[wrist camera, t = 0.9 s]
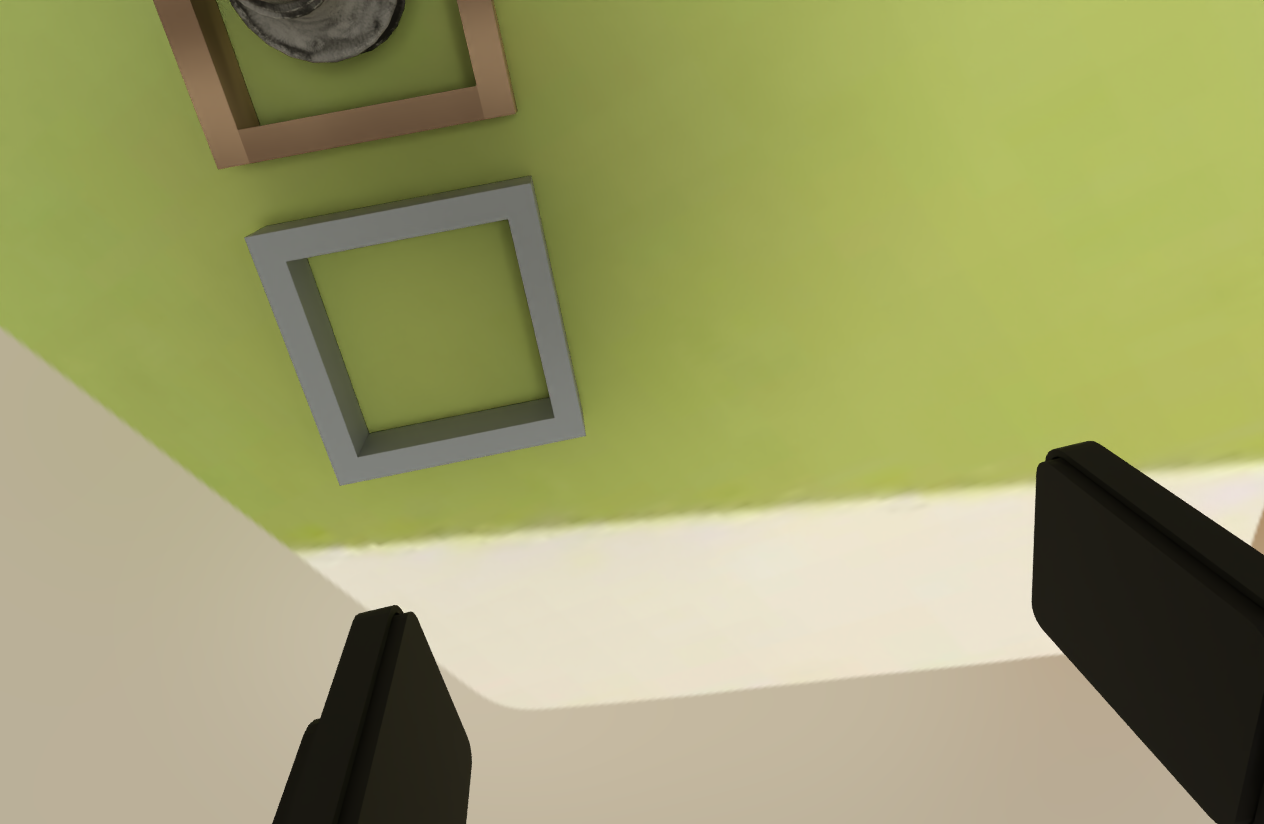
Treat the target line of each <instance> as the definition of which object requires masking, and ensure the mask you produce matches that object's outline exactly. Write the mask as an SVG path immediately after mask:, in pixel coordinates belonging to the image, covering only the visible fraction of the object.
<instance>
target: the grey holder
mask: <svg viewBox="0 0 1264 824" xmlns="http://www.w3.org/2000/svg"><path fill="white" fill-rule="evenodd" d="M506 219H508V221H509V225H510V229H511V234H512V238H513V242H514V246H515V251H516V255H517V259H518V263H519V268H520V272H521V276H522V281H523V285H524V289H525V293H526V298H527V302H528V306H529V310H530V315H531V319H532V323H533V327H534V332H535V336H536V340H537V344H538V349H539V353H540V357H541V361H542V366H543V370H544V374H545V379H546V383H547V387H548V391H549V396H550V397H549V398H544V399H539V400H534V401H529V402H524V403H519V404H514V405H509V406H504V407H499V408H494V409H489V410H484V411H479V412H474V413H469V414H464V415H459V416H454V417H449V418H444V419H439V420H434V421H429V422H424V423H419V424H414V425H409V426H404V427H399V428H394V429H389V430H384V431H379V432H374V433H369V432H368V429H367V426H366V424H365V421H364V418H363V415H362V412H361V409H360V407H359V404H358V401H357V398H356V395H355V393H354V390H353V387H352V384H351V381H350V378H349V376H348V373H347V370H346V367H345V364H344V361H343V359H342V356H341V353H340V350H339V347H338V345H337V342H336V339H335V336H334V333H333V330H332V328H331V325H330V322H329V319H328V316H327V313H326V311H325V308H324V305H323V302H322V299H321V296H320V294H319V291H318V288H317V285H316V282H315V280H314V277H313V274H312V271H311V268H310V265H309V263H308V260H307V258H308V257H313V256H318V255H323V254H329V253H334V252H339V251H344V250H349V249H355V248H360V247H365V246H370V245H376V244H381V243H386V242H391V241H396V240H402V239H407V238H412V237H417V236H422V235H428V234H433V233H438V232H443V231H448V230H454V229H459V228H464V227H469V226H475V225H480V224H485V223H490V222H495V221H501V220H506ZM245 241H246V243H247V246H248V248H249V251H250V254H251V256H252V259H253V261H254V264H255V267H256V269H257V272H258V274H259V277H260V280H261V282H262V285H263V287H264V290H265V293H266V295H267V298H268V300H269V303H270V306H271V308H272V311H273V313H274V316H275V318H276V321H277V324H278V326H279V329H280V331H281V334H282V337H283V339H284V342H285V344H286V347H287V350H288V352H289V355H290V357H291V360H292V363H293V365H294V368H295V370H296V373H297V376H298V378H299V381H300V383H301V386H302V389H303V391H304V394H305V396H306V399H307V402H308V404H309V407H310V409H311V412H312V415H313V417H314V420H315V422H316V425H317V428H318V430H319V433H320V435H321V438H322V441H323V443H324V446H325V448H326V451H327V454H328V456H329V459H330V461H331V464H332V467H333V469H334V472H335V474H336V477H337V480H338V482H339V485H340V486H341V485H346V484H350V483H355V482H360V481H365V480H370V479H375V478H380V477H385V476H390V475H395V474H400V473H405V472H410V471H415V470H420V469H425V468H430V467H435V466H439V465H444V464H449V463H454V462H459V461H464V460H469V459H474V458H479V457H484V456H489V455H494V454H499V453H504V452H509V451H514V450H519V449H524V448H529V447H533V446H538V445H543V444H548V443H553V442H558V441H563V440H568V439H573V438H578V437H583V436H586V433H585V426H584V418H583V412H582V407H581V403H580V398H579V393H578V389H577V384H576V379H575V375H574V370H573V366H572V361H571V356H570V352H569V347H568V342H567V338H566V333H565V329H564V324H563V319H562V315H561V310H560V306H559V301H558V296H557V292H556V287H555V282H554V278H553V273H552V269H551V264H550V259H549V255H548V250H547V246H546V241H545V236H544V232H543V227H542V222H541V218H540V213H539V209H538V204H537V199H536V195H535V190H534V185H533V181H532V176H526V177H521V178H516V179H511V180H505V181H500V182H495V183H490V184H484V185H479V186H474V187H469V188H463V189H458V190H453V191H448V192H442V193H437V194H432V195H427V196H421V197H416V198H411V199H406V200H400V201H395V202H390V203H384V204H379V205H374V206H369V207H363V208H358V209H353V210H348V211H342V212H337V213H332V214H327V215H321V216H316V217H311V218H306V219H300V220H295V221H290V222H285V223H279V224H274V225H269V226H265V227H263V228H261V229H259V230H257V231H256V232H254V233H252V234H250V235H248V236H246V237H245Z"/></svg>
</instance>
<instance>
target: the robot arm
mask: <svg viewBox="0 0 1264 824" xmlns="http://www.w3.org/2000/svg"><path fill="white" fill-rule="evenodd" d="M1032 609H1033V613H1034V615H1035V618H1036V620H1037V622H1038V624H1039V625H1040V627H1041V628H1042V629H1043V631H1044V632H1045V633H1046V634H1047V635H1048V636H1049V637H1050V638H1051V639H1052V641H1053V642H1054V643H1055V644H1056V645H1057V646H1058V647H1059V648H1060V650H1061V651H1062V652H1063V653H1064V654H1065V655H1066V656H1067V657H1068V658H1069V660H1070V661H1071V662H1072V663H1073V664H1074V665H1075V666H1076V667H1077V669H1078V670H1079V671H1080V672H1081V673H1082V674H1083V675H1084V676H1085V678H1086V679H1087V680H1088V681H1089V682H1090V683H1091V684H1092V685H1093V687H1094V688H1095V689H1096V690H1097V691H1098V692H1099V693H1100V694H1101V695H1102V697H1103V698H1104V699H1105V700H1106V701H1107V702H1108V703H1109V705H1110V706H1111V707H1112V708H1113V709H1114V710H1115V711H1116V712H1117V714H1118V715H1119V716H1120V717H1121V718H1122V719H1123V720H1124V721H1125V722H1126V723H1127V725H1128V726H1129V727H1130V728H1131V729H1132V730H1133V731H1134V733H1135V734H1136V735H1137V736H1138V737H1139V738H1140V739H1141V740H1142V742H1143V743H1144V744H1145V745H1146V746H1147V747H1148V748H1149V749H1150V751H1152V753H1153V754H1154V755H1155V756H1156V757H1157V758H1158V759H1159V760H1160V762H1161V763H1162V764H1163V765H1164V766H1165V767H1166V768H1167V770H1168V771H1169V772H1170V773H1171V774H1172V775H1173V776H1174V777H1175V779H1176V780H1177V781H1178V782H1179V783H1180V784H1181V785H1182V786H1183V788H1184V789H1185V790H1186V791H1187V792H1188V793H1189V794H1190V795H1191V796H1192V798H1193V799H1194V800H1195V801H1196V802H1197V803H1198V804H1199V806H1200V807H1201V808H1202V809H1203V810H1204V811H1205V812H1206V813H1207V814H1208V816H1209V817H1210V818H1211V819H1213V820H1214V821H1215V822H1216V823H1217V824H1264V555H1263V554H1261V553H1260V552H1258V551H1257V550H1256V549H1254V548H1253V547H1251V546H1250V545H1248V544H1247V543H1245V542H1244V541H1242V540H1241V539H1239V538H1238V537H1236V536H1235V535H1233V534H1232V533H1230V532H1229V531H1227V530H1226V529H1225V528H1223V527H1222V526H1220V525H1219V524H1217V523H1216V522H1214V521H1213V520H1211V519H1210V518H1208V517H1207V516H1205V515H1204V514H1202V513H1201V512H1199V511H1198V510H1196V509H1195V508H1193V507H1192V506H1191V505H1189V504H1188V503H1186V502H1185V501H1183V500H1182V499H1180V498H1179V497H1177V496H1176V495H1174V494H1173V493H1171V492H1170V491H1168V490H1167V489H1165V488H1164V487H1162V486H1161V485H1159V484H1158V483H1157V482H1155V481H1154V480H1152V479H1151V478H1149V477H1148V476H1146V475H1145V474H1143V473H1142V472H1140V471H1139V470H1137V469H1136V468H1134V467H1133V466H1131V465H1130V464H1128V463H1127V462H1125V461H1124V460H1123V459H1121V458H1120V457H1118V456H1117V455H1115V454H1114V453H1112V452H1111V451H1109V450H1108V449H1106V448H1105V447H1103V446H1102V445H1100V444H1098V443H1096V442H1094V441H1086V442H1082V443H1078V444H1073V445H1069V446H1065V447H1061V448H1057V449H1053V450H1051V451H1049V452H1048V454H1047V456H1046V460H1045V462H1042V463H1040V464H1039V465H1038V467H1037V472H1036V499H1035V526H1034V553H1033V580H1032ZM471 767H472V756H471V748H470V743H469V740H468V737H467V735H466V732H465V730H464V728H463V726H462V723H461V721H460V718H459V716H458V713H457V711H456V709H455V706H454V704H453V702H452V699H451V697H450V695H449V692H448V690H447V687H446V685H445V683H444V680H443V678H442V675H441V673H440V671H439V668H438V666H437V664H436V661H435V659H434V656H433V654H432V652H431V649H430V647H429V645H428V642H427V640H426V637H425V635H424V633H423V630H422V628H421V626H420V623H419V621H418V619H417V617H416V615H415V614H414V613H413V612H407V613H403V611H402V610H401V608H400V607H399V606H397V605H393V606H389V607H384V608H380V609H376V610H372V611H368V612H364V613H359V614H358V615H356V616H355V618H354V620H353V622H352V626H351V629H350V631H349V635H348V637H347V640H346V643H345V646H344V650H343V652H342V655H341V658H340V661H339V664H338V667H337V670H336V673H335V676H334V679H333V682H332V685H331V688H330V691H329V694H328V697H327V700H326V703H325V706H324V709H323V712H322V715H321V718H320V719H316V720H314V721H313V722H311V723H310V724H309V725H308V727H307V729H306V731H305V733H304V735H303V738H302V741H301V744H300V746H299V749H298V752H297V755H296V758H295V761H294V764H293V766H292V769H291V772H290V775H289V778H288V781H287V783H286V786H285V789H284V792H283V795H282V798H281V801H280V803H279V806H278V809H277V812H276V815H275V817H274V820H273V823H272V824H466V819H467V809H468V799H469V787H470V778H471Z"/></svg>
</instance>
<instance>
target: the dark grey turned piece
mask: <svg viewBox="0 0 1264 824" xmlns="http://www.w3.org/2000/svg"><path fill="white" fill-rule="evenodd" d="M230 2H231V4H232V6H233V8H234V9H235V10H236V12H237V13H238V14H239V16H240V17H241V18H242V20H243V21H244V22H245V24H246V25H247V26H248V28H250V29H251V30H252V31H253V32H254V33H255V34H256V35H258V36H259V37H260V38H261V39H262V40H263V41H264V42H266V43H267V44H268V45H270V46H271V47H273V48H275V49H277V50H279V51H281V52H282V53H284V54H286V55H288V56H290V57H293V58H297V59H301V60H305V61H309V62H313V63H321V62H339V61H342V60H345V59H348V58H351V57H355V56H357V55H359V54H362V53H365V52H368V51H371V50H373V49H375V48H376V47H378V46H379V45H380V44H382V43H383V42H385V41H386V40H387V39H388V38H389V36H390V35H391V34H392V32H393V31H394V30H395V29H396V27H397V26H398V23H399V21H400V18H401V16H402V13H403V11H404V7H405V0H230Z"/></svg>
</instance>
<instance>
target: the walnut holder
mask: <svg viewBox="0 0 1264 824" xmlns="http://www.w3.org/2000/svg"><path fill="white" fill-rule="evenodd" d="M153 2H154V4H155V7H156V9H157V12H158V15H159V17H160V20H161V22H162V25H163V28H164V30H165V33H166V35H167V38H168V41H169V43H170V46H171V48H172V51H173V54H174V56H175V59H176V61H177V64H178V67H179V69H180V72H181V74H182V77H183V79H184V82H185V85H186V87H187V90H188V92H189V95H190V98H191V100H192V103H193V105H194V108H195V111H196V113H197V116H198V118H199V121H200V124H201V126H202V129H203V131H204V134H205V137H206V139H207V142H208V144H209V147H210V150H211V152H212V155H213V157H214V160H215V163H216V165H217V168H218V169H223V168H228V167H234V166H239V165H245V164H250V163H255V162H261V161H266V160H271V159H277V158H282V157H287V156H293V155H298V154H303V153H309V152H314V151H319V150H325V149H330V148H335V147H341V146H346V145H351V144H357V143H362V142H367V141H373V140H378V139H383V138H389V137H394V136H399V135H405V134H410V133H415V132H421V131H426V130H431V129H437V128H442V127H447V126H453V125H458V124H463V123H469V122H474V121H479V120H485V119H490V118H495V117H501V116H506V115H511V114H516V112H517V107H516V102H515V98H514V93H513V88H512V84H511V79H510V75H509V70H508V65H507V61H506V56H505V52H504V47H503V42H502V38H501V33H500V28H499V24H498V19H497V15H496V10H495V5H494V1H493V0H457V4H458V8H459V12H460V16H461V21H462V25H463V29H464V33H465V38H466V42H467V46H468V50H469V55H470V59H471V63H472V67H473V72H474V76H475V80H476V85H477V86H473V87H467V88H462V89H457V90H451V91H446V92H440V93H435V94H430V95H424V96H419V97H414V98H408V99H403V100H397V101H392V102H387V103H381V104H376V105H370V106H365V107H360V108H354V109H349V110H344V111H338V112H333V113H327V114H322V115H317V116H311V117H306V118H300V119H295V120H290V121H284V122H279V123H274V124H268V125H263V126H260V124H259V121H258V118H257V116H256V113H255V110H254V107H253V104H252V102H251V99H250V96H249V93H248V90H247V87H246V85H245V82H244V79H243V76H242V73H241V70H240V68H239V65H238V62H237V59H236V56H235V53H234V51H233V48H232V45H231V42H230V39H229V37H228V34H227V31H226V28H225V25H224V22H223V20H222V17H221V14H220V11H219V8H218V5H217V3H216V0H153Z"/></svg>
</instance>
